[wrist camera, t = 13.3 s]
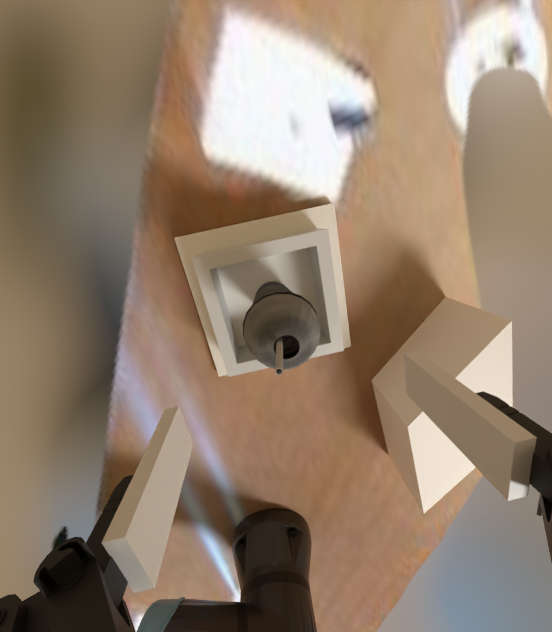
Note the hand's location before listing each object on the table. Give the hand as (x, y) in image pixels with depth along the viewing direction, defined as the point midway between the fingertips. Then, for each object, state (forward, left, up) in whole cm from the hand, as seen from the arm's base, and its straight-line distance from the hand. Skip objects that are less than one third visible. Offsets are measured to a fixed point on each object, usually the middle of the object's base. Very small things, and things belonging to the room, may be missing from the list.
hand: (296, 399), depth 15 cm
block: (-20, -20, -23) cm, 36 cm away
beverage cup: (0, 0, -22) cm, 22 cm away
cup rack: (0, 0, -23) cm, 23 cm away
